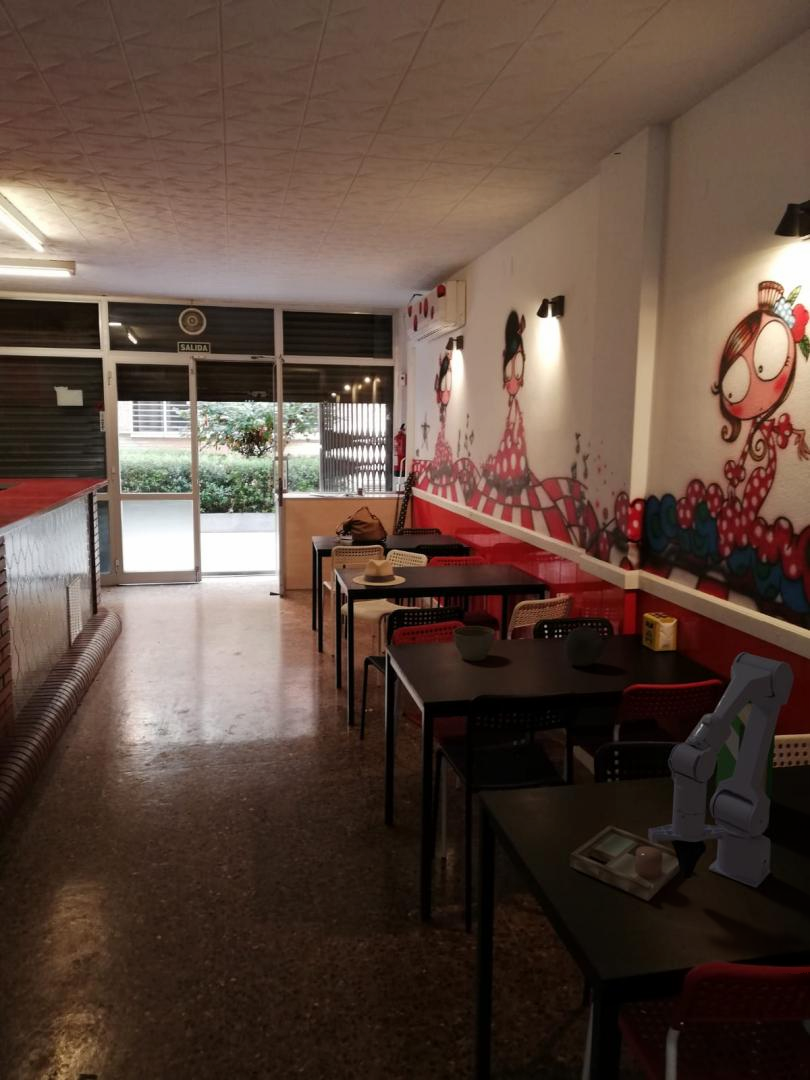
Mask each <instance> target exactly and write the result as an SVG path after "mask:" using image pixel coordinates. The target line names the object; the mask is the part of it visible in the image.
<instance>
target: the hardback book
mask: <svg viewBox="0 0 810 1080" xmlns="http://www.w3.org/2000/svg"><path fill="white" fill-rule="evenodd" d="M751 707H752V700H750V701H749V702H748V703H747V704H746V706H745V707H744V708H743V709H742V710H741V711H740V713H739V714H738V715H737V716H736V717H735V719H734V720H733V721H732V722H731V723H730V727H731V731H732V733H731V735H730V736H729V738H728V739H727V741H726V742H725V744H724V745H723V747H722V748H721V750H720V751H719V752H718V754H717V756H718V759H717V762H716V779H715V791H716V790H717V788H718V785H719V783H720V782H721V781H724V780H727V779H730V778H732V777H733V773H734V770H735V766H736V762H737V759H738V755H739V751H740V748H741V744H742V740H743V736H744V733H745V729H746V725H747V722H748V718H749V714H750V711H751ZM776 726H777V725H776ZM776 726H775V728H776ZM775 739H776V729H775V730H774V734H773V737H772V741H771V745H770V749H769V752H768V756H767V760H766V763H765V767H764V771H763V775H762V778H761V782H760V787H761V789H762V790H763V791H764V793H765V794H766V795H767V797H768V798H769V800H770V804H771V801H772V800H771V799H772V787H773V786H772V785H773V772H774V771H773V769H774V753H775ZM733 793H734V794H736V795H739V796H741V797H743V798H746V799H748V800H750V799H749V798H747V797H744V796H742V795H740V794H737V793H735V792H733ZM770 814H771V806H770V807H769V820H770V819H771V818H770V817H771V815H770ZM767 829H770V821H769V822H768V825H767V828H766V829H765V830H767Z"/></svg>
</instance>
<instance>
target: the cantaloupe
mask: <svg viewBox="0 0 810 1080" xmlns="http://www.w3.org/2000/svg"><path fill="white" fill-rule="evenodd" d="M563 647H564V648H563V649H564V654H565V658H566V659H567V661H568V662H569V663H570V664H572V665H574V666H576V667H578V668H579V667H580V668H583V667H584V668H585V667H587V666H590V665H592V664H594V663H595V662H596V661H597V660H598V659H599V658H600V657H601V655H602V653H603V651H604V647H605V642H604V639H603V636H602V635H601V634H600V632H598V631H597V630H595V629H593V628H592V627H589V626H578V627H575V628H573V629H572V630H570V632H569V633H568V634H567V637H566V638H565V641H564V645H563Z"/></svg>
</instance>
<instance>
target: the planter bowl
mask: <svg viewBox="0 0 810 1080" xmlns="http://www.w3.org/2000/svg"><path fill="white" fill-rule="evenodd" d="M452 634H453V639H454V644H455V647H456V649H457V651H458V652H459V654H460V655H461V658H462V659H463V660H465V661H471V662H472V661H473V662H477V661H478V662H480V661H483V660H485V659H487V655H488V654H489V652H490V651H491V650H492V647H493V645H494V639H495V634H496V632H495V630H494V629H492V628H490V627H486V626H480V625H479V626H478V625H467V626H460V627H456V628H455V629H453V631H452Z"/></svg>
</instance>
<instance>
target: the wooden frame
mask: <svg viewBox="0 0 810 1080" xmlns="http://www.w3.org/2000/svg"><path fill="white" fill-rule="evenodd" d="M644 846H646V847H653V848H655V849H658V850H659V851H660V852H661V853H662V855H663V856H662V875H661V877H660V878H658V879H646V878H643V877H641V876H639V875H638V874H637V873H636V872H635V862H636V850H637V848H639V847H644ZM591 857H593V858H595V859H597V860H600V861H601V862H602V861H603V862H604V863H606V864H602V863H599V862H598V861H595V860H593V859H591ZM569 858H570V859H569V861H570V862H569V867H570V868H572V869H575V870H577V871H579V872H581V873H584V874H586V875H588V876H591V877H592V878H595V879H597V880H600V881H602V882H604V883H606V884H609V885H611V886H613V887H616V888H618V889H620V890H622V891H625V892H627V893H629V894H631V895H634V896H635V897H638V898H640V899H642V900H644V901H648V902H649V901H650V900H651V899H652V898H653V897H654V896H655V895H656V894H658V893H659V891H661V889H663V888H664V887H665V886H666V884H668V883H669V882H670V881H671V880H673V878H674V877H675V876H677V874H679V873H680V868H679V863H678V859H677V855H676V852H675V850H674V848H671V847H668V846H665V845H662V844H660V843H658V842H657V843H652V842H651V841H650V840H649V839H647V838H644V837H642V836H639V835H637V834H635V833H634V834H633V833H631V832H629V831H626V830H623V829H622V828H618V827H616V826H614V825H608V826H607V827H605V828H604V829H603V830H601V831H600V832H598V833H596V835H594V836H593V837H592V838H590V839H589V840H587V841H586V842H585V843H583V844H581V846H579V847H578V848H577V849H575V850H574V851H572V852H571V853H570V857H569Z"/></svg>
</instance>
